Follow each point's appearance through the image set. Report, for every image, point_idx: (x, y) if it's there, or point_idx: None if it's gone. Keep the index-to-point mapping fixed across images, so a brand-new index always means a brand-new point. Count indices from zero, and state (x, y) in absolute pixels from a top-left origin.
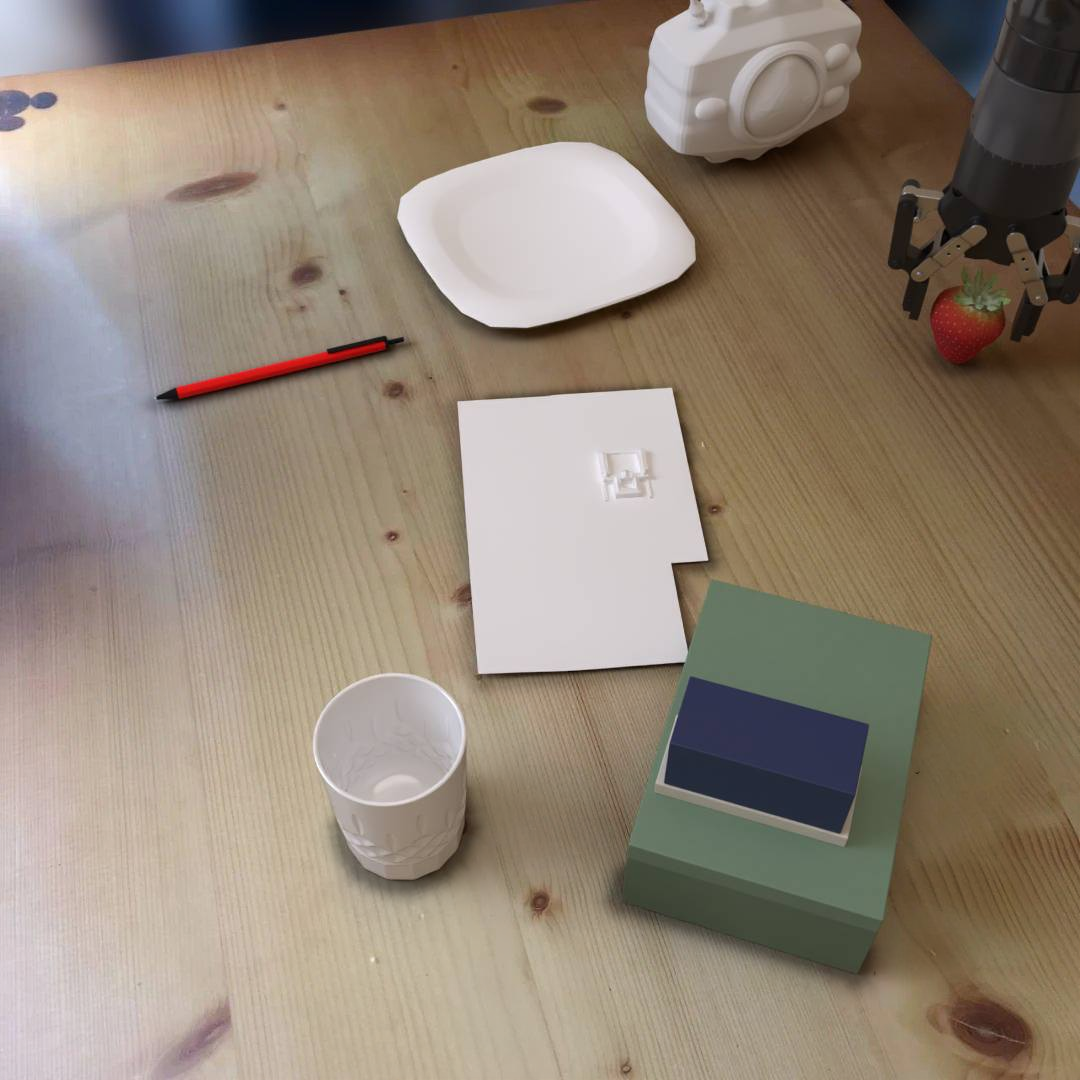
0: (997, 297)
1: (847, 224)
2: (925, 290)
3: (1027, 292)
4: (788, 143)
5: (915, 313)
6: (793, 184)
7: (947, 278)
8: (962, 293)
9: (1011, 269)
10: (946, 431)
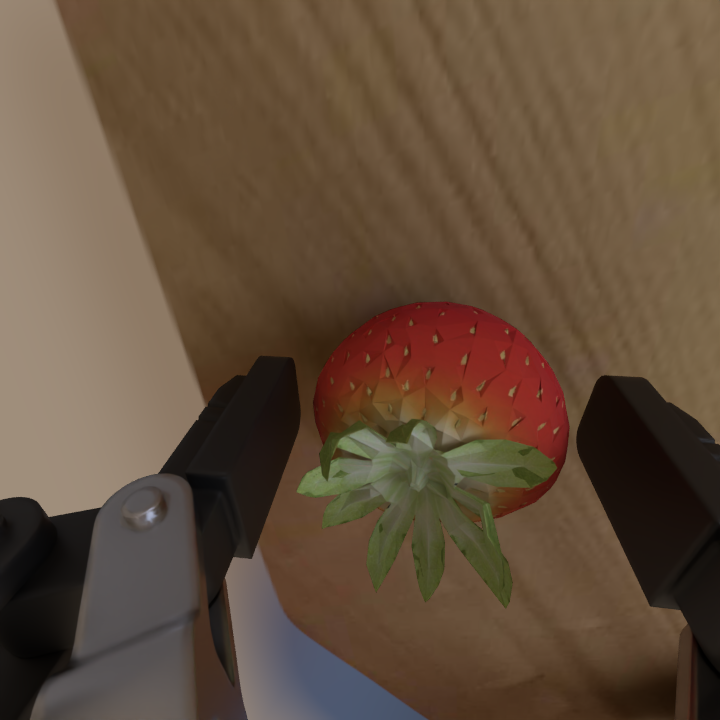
0: (352, 493)
1: (621, 593)
2: (698, 486)
3: (195, 539)
4: None
5: (638, 392)
6: None
7: None
8: (485, 492)
9: (343, 543)
10: (436, 6)
